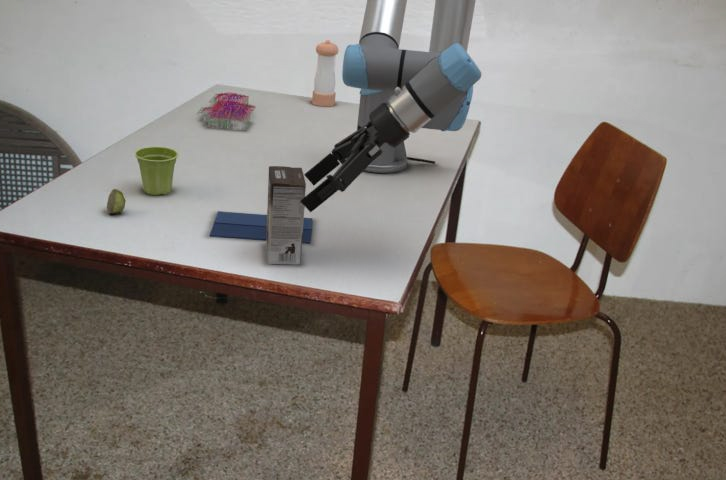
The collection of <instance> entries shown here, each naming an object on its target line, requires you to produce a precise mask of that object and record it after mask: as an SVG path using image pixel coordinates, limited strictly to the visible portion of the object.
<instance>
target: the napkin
mask: <svg viewBox="0 0 726 480" xmlns="http://www.w3.org/2000/svg"><path fill="white" fill-rule="evenodd" d="M312 227H313V218H312V217H304V221H303V235H302V244H311V237H312V229H313V228H312ZM209 237H213V238H227V239H228V238H229V239H242V240H257V241H266V238H267V214H258V213H244V212H233V211H220V210H219V211H217V214H216V216H215V219H214V222H213V226H212V228H211V230H210V233H209Z"/></svg>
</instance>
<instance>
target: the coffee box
mask: <svg viewBox="0 0 726 480" xmlns="http://www.w3.org/2000/svg"><path fill="white" fill-rule="evenodd" d="M304 175H305V174H304V171H303V168H302V167H293V166H284V165H283V166H280V165H271V166H270V165H269V166H268V181H267V209H266V215H267V238H266V240H265V241H266V243H265V244H266V255H267V264H268V265H296V266H297V265H301V260H302V245H303V243H302V235H303V221H304V218H305V208H306V207H305V206H304V205H303V204H302V203H301V200H302V199H303V198H304V197H305V196H306V193H307V192H306V190H307V183H306V179H305V176H304Z"/></svg>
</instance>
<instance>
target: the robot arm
mask: <svg viewBox="0 0 726 480" xmlns="http://www.w3.org/2000/svg"><path fill="white" fill-rule="evenodd" d="M407 2H408V0H366V4H365V10H364V15H363V20H362V25H361V30H360V36H359V41H358V43H356V44H348V45H347V46H346V48H345V50H344V54H343V59H342V73H341V75H342V77H341V79H342V82H343V84H344V85H345V86H346V87H349V88H355V89H360V90H359V105H358V115H357V126H356V130H355V131H354V132H352V133H351V134H349V135H348V136H346V137H345V138H343V139H341V140H340V141H339V142H336V143H335V144H334V146H333V149H332V150H331V152H329V153H328V154H327V155H326V156H325V157H324V158H322V159H321V160H320V161H318V162H317V163H316V164H315V165H314V166H313V167H311V168H309V170H308V171H307V172H305V173H304V174H303V175H304V178H306V179H307V181H309V182H310V184H311V185H312V186H315V185H316V184H318V183H319V182H321V180H323V179H324V178H325V177H326V179H325V180H324V181H322V182H321V183H320V184H318V185H317V186H316V187H314V189H312V190H311V191H310V192H308V194H305V197H304V198H303V199H302V200H301V203H302V204H303V205H304V206H305V207H304V208H305V209H307V210H308V211H309V213H312V212H314V211H315V210H316V209H317V208H318V207H320V206H321V205H322V204H324V203H325V202H326V201H327V200H329V198H331V197H332V196H334V195H335V194H336V193H337V192H338V191H340V192H341V193H343V192H345V191H346V190H347V189H348V187H350V186H351V184H352V183H353V182H355V181H356V180H357V178H358V177H360V175H361V174H362V173H363V172H367V173H374V174H392V173H398V172H402V171H404V170H406V169H407V166H408V161H412V162H413V161H414V162H420V163H425V164H426V163H427V164H431V165H435V164H436V161H434V160H431V159H430V160H429V159H423V158H417V157H410V156H408V155H407V150H406V145H405V141H407V140H408V139H409V138H410V135H411V133H413V134H415V133H417V132H418V131H419V130H421V129H428V130H437V131H441V132H457V131H459V130H461V129H462V128H463V126H464V124H465V123H466V120H467V118H468V115H469V111H470V108H471V107H470V106H471V103H472V100H473V95H474V94H473V93H474V85H475V84H477V82H478V81H480V79H481V78H482V71H481V70H480V68H479V66H478V65H477V64H476V63H475V61H474V59H473V58H472V57H471V55H470V54H469V53H468V49H469V43H470V37H471V30H472V24H473V18H474V13H475V5H476V2H477V1H476V0H435V1H434V10H433V15H432V26H431V33H430V41H429V47H428V48H429V49H428V51H422V50H411V49H403V48H402V49H401V48H400V43H401V38H402V32H403V25H404V21H405V15H406V8H407ZM340 165H341V166H340ZM339 166H340V167H339ZM337 167H339V168H338V169H337V170H336V171H335V172H334V174H333V175H332V174H330V173H331V172H332V171H334V170H335V169H336V168H337Z"/></svg>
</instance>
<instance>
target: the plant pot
mask: <svg viewBox="0 0 726 480" xmlns="http://www.w3.org/2000/svg"><path fill="white" fill-rule="evenodd" d="M134 156H135V158H136V160H137V163H138V165H139V172H140V178H141V182H142V183H141V184H142V189H143V191H144V192H145V193H146V194H147V195H152V196H159V195H168V194H170V193H171V192H172V190H173V189H172V188H173V179H174V174H175V173H174V172H175V164H176V162H177V159H178V157H179V152H178V150H175V149H173V148H171V147H166V146H146V147H142V148H138V149H137V150H135V152H134Z"/></svg>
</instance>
